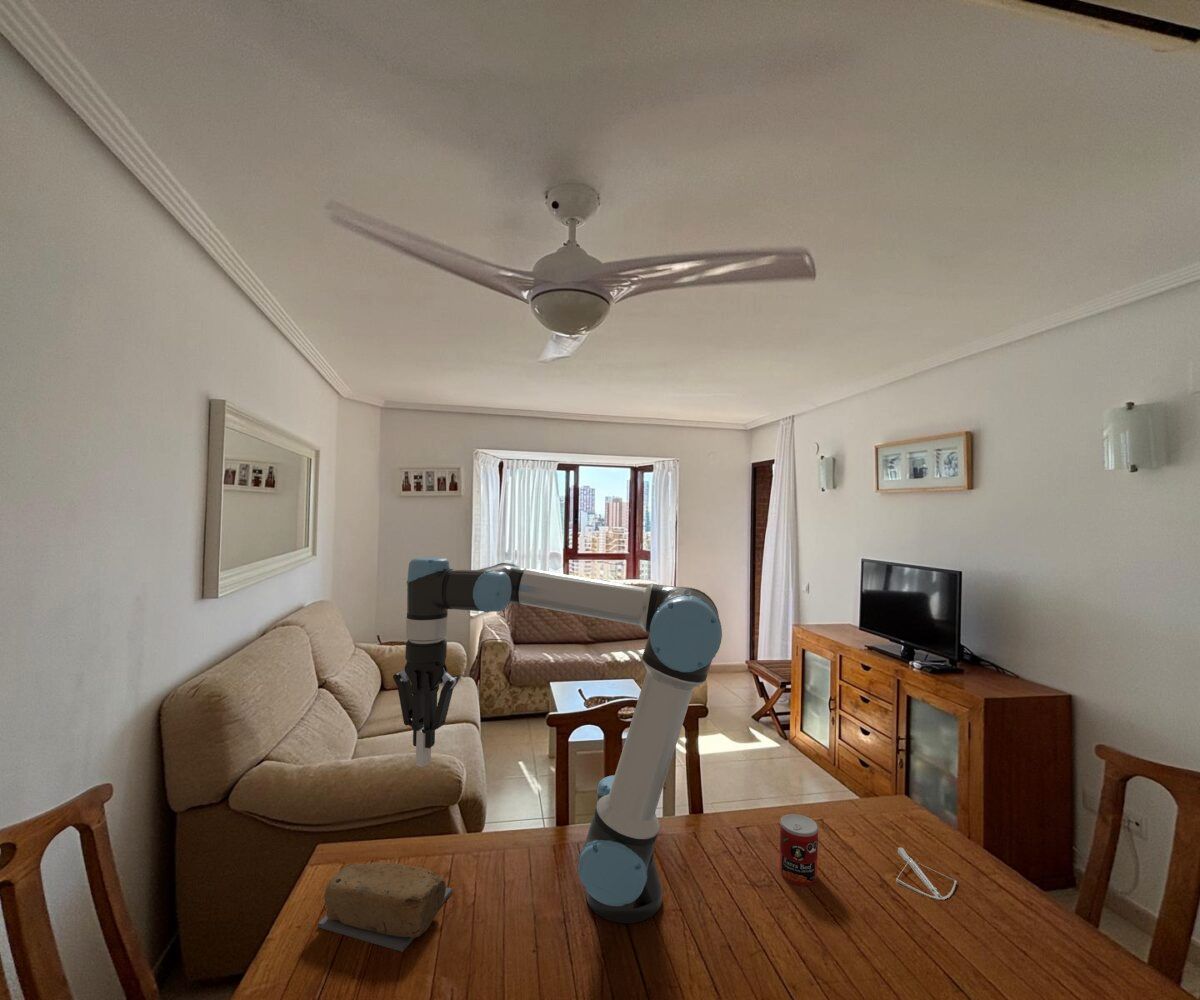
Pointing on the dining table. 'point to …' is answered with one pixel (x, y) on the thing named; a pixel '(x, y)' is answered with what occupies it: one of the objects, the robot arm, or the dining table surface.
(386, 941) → the mat
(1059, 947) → the dining table surface
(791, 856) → the canned food
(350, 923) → the block
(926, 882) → the crossbow
